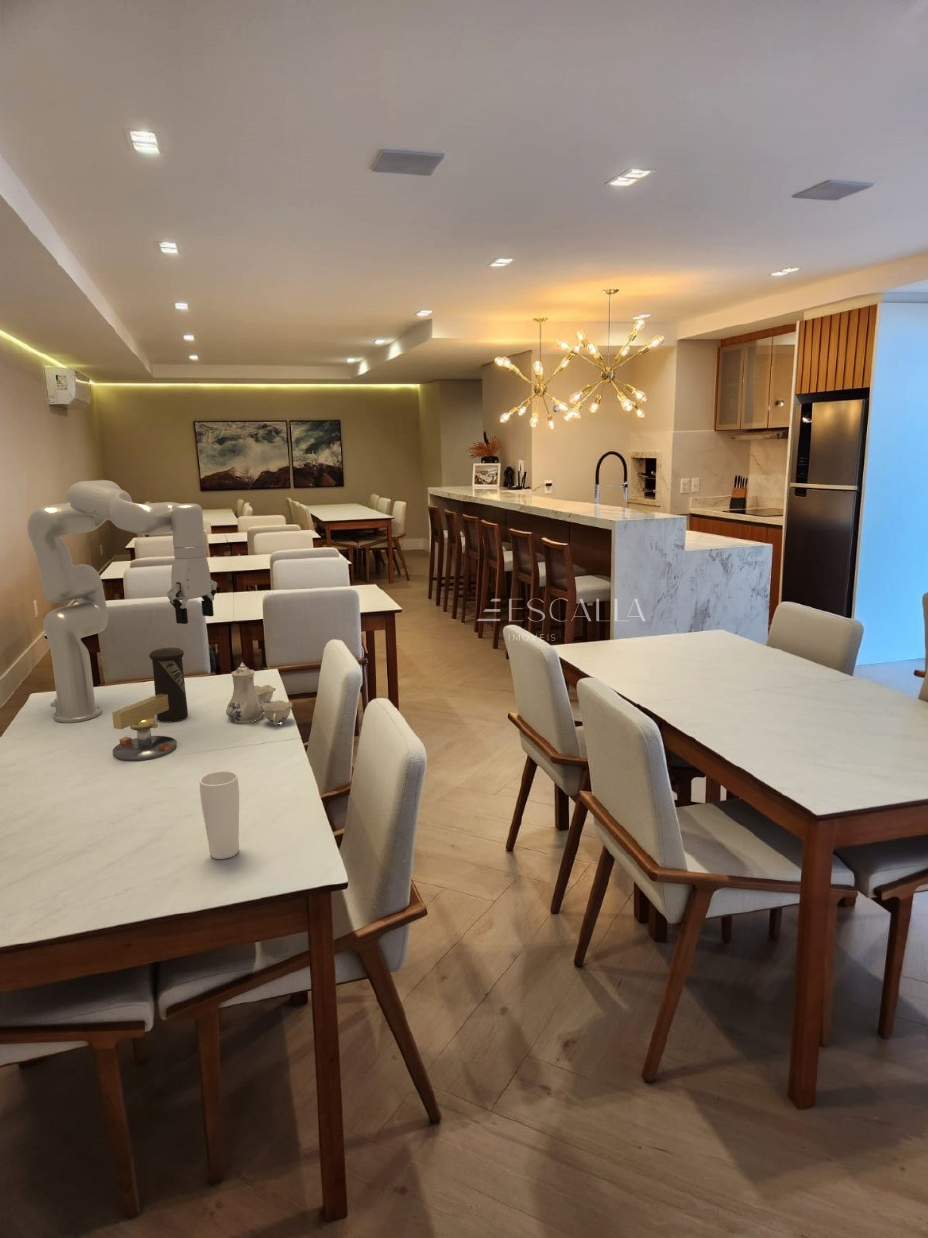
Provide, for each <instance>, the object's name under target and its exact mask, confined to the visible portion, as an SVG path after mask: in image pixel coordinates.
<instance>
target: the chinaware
mask: <svg viewBox="0 0 928 1238" xmlns="http://www.w3.org/2000/svg"><path fill="white" fill-rule="evenodd" d="M255 673H256V671H255V670H254V669H250V668H249V667H247V666H246V665H245V663H244V662H241V663H240V665H239V667H237V669H235V670H234V671H231V673H230V675H231V677H232V682H233V691H232V692H233V693H232V696H231V698H230V701H229V702H228V704H227V707H226V710H225V714H226V716H228V718H230V722H232V723H234V722H235V724H247V723H246V722H251V723H253V722H252V721H255V720H258V719H260V718H261V716H262V715H263V713H264V717H265V718H266V719H267V720H268V721H270V722H271V723H273V722H274V725H273V726H279V725H278V723H280V722H284V721H285V720H287V719H288V718H289V716H290V714H291V709H292V707H293V702H291V701H284V700H275V701H272V703H271V702H270V701H271V700H272V698H273V694H274V692H275V691H276V688H275V687H273V686H272V685H270V684H266V685H263V686H259V685H255V682H254V678H255ZM261 719H262V718H261ZM261 719H260V720H261ZM258 721H259V720H258ZM255 722H256V721H255Z"/></svg>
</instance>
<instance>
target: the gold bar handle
mask: <svg viewBox="0 0 928 1238" xmlns="http://www.w3.org/2000/svg"><path fill="white" fill-rule="evenodd" d="M167 710H169V705H168V695H166V694H158V695H156V696H155V695H154V696H150V697H148V698H145V699H143V700H140V701H138V702H135V703H134V704H131V705H130V704H129V705H128V706H125V707H122V708H121V709H117V710H115V711H113V712H112V713H111V714H112V724H113V729H117V730H123V729H126V728H128V727H129V728H130V730H132V731H137V730H146V729H150V730H151V729H157V728H159V725H158V722H156V716H157V714H159V713H162V712H164V711H167Z"/></svg>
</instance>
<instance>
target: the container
mask: <svg viewBox="0 0 928 1238" xmlns="http://www.w3.org/2000/svg"><path fill="white" fill-rule="evenodd" d="M184 654H185V652H184V650H183V649H181V648H180V647H179V648H178V647H164V648H163V647H162V648H158V649H157V648H156V649H154V650H152V651H151V652H150V653H149V655H148V656H149V658H150V661H152V662H151V663H152V671H153V685H154V696H156V695H158V694H166V695H168V705H169V710H167V711H164V712H162V713H159V714H157V715H156V719H157V721H159V722H163V723H174V722H175V723H176V722H181V721H184V720H187V718H188V717H189V713H188V702H187V692H186V685H185V684H186V683H185V675H184V664H183V657H184Z"/></svg>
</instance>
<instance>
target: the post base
mask: <svg viewBox="0 0 928 1238" xmlns="http://www.w3.org/2000/svg"><path fill="white" fill-rule="evenodd" d="M118 741H119V744H117V745H115V746H114V747H113V749H112V756H113V758H115V759H116V760H119V761H121V762H122V761H123V762H143V761H144V762H145V761H151V760H155V759H158V758H162V757H164V756H168V755H170V754H172V753H173V752H174V751H175V750H176V749H177V748H178V742H177V740H176V739H175V738H173V737H171V736H166V735H152V732H151V728H150V729H146V730H136V737H135V738H132V737H128V736H124V737H122V738H119V740H118Z"/></svg>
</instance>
